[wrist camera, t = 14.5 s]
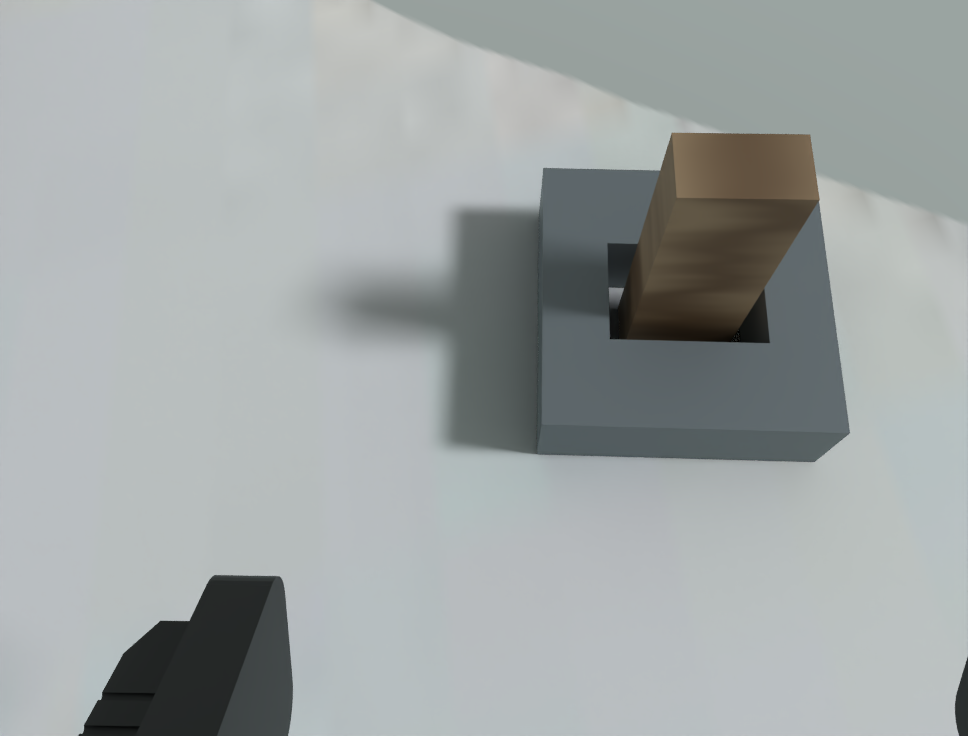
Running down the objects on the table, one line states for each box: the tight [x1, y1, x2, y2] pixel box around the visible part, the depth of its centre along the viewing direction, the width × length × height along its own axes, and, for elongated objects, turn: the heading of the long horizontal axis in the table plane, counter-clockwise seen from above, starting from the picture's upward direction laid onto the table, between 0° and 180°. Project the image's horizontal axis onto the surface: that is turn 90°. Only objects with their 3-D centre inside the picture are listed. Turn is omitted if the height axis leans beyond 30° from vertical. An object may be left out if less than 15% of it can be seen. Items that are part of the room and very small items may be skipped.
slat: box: [618, 133, 819, 342], centre depth 34 cm, size 4×2×13 cm, turn 89°
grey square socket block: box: [537, 168, 850, 462], centre depth 38 cm, size 12×12×4 cm
